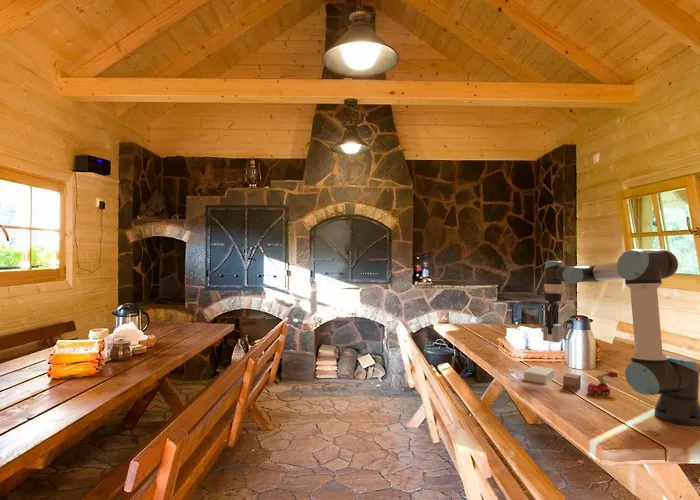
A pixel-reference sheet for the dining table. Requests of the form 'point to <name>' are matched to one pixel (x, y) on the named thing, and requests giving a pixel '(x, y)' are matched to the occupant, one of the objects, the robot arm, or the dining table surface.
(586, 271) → the robot arm
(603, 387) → the toy fire truck
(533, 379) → the plinth
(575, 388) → the block
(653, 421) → the dining table surface
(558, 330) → the block
